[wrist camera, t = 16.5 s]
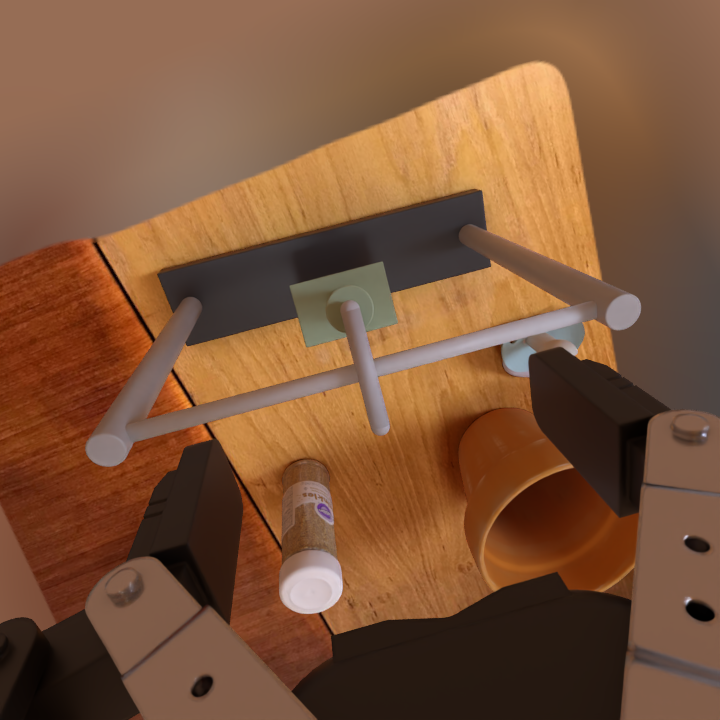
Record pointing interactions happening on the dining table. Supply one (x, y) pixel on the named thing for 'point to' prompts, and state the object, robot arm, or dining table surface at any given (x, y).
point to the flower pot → (537, 509)
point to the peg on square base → (350, 323)
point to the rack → (326, 257)
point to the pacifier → (539, 347)
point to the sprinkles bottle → (308, 540)
